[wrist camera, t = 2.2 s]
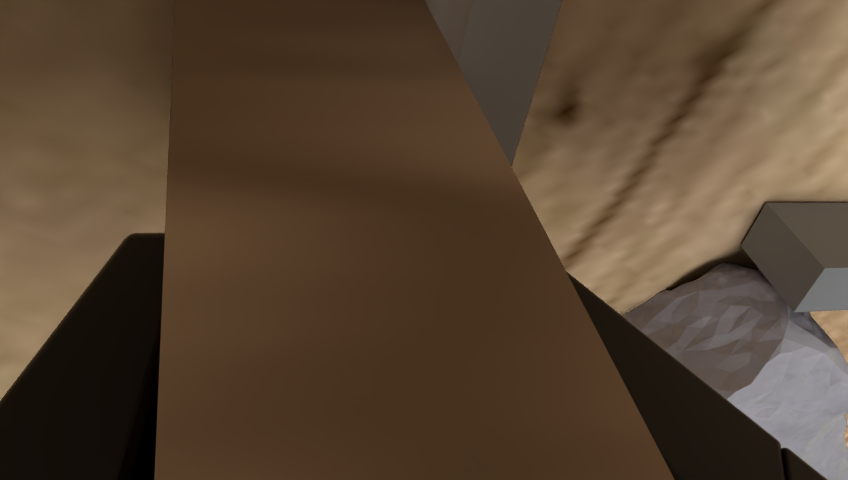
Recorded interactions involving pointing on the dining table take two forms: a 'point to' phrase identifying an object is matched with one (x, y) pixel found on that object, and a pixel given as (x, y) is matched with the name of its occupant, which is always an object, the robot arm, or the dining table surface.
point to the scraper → (371, 255)
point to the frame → (803, 253)
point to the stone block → (758, 359)
